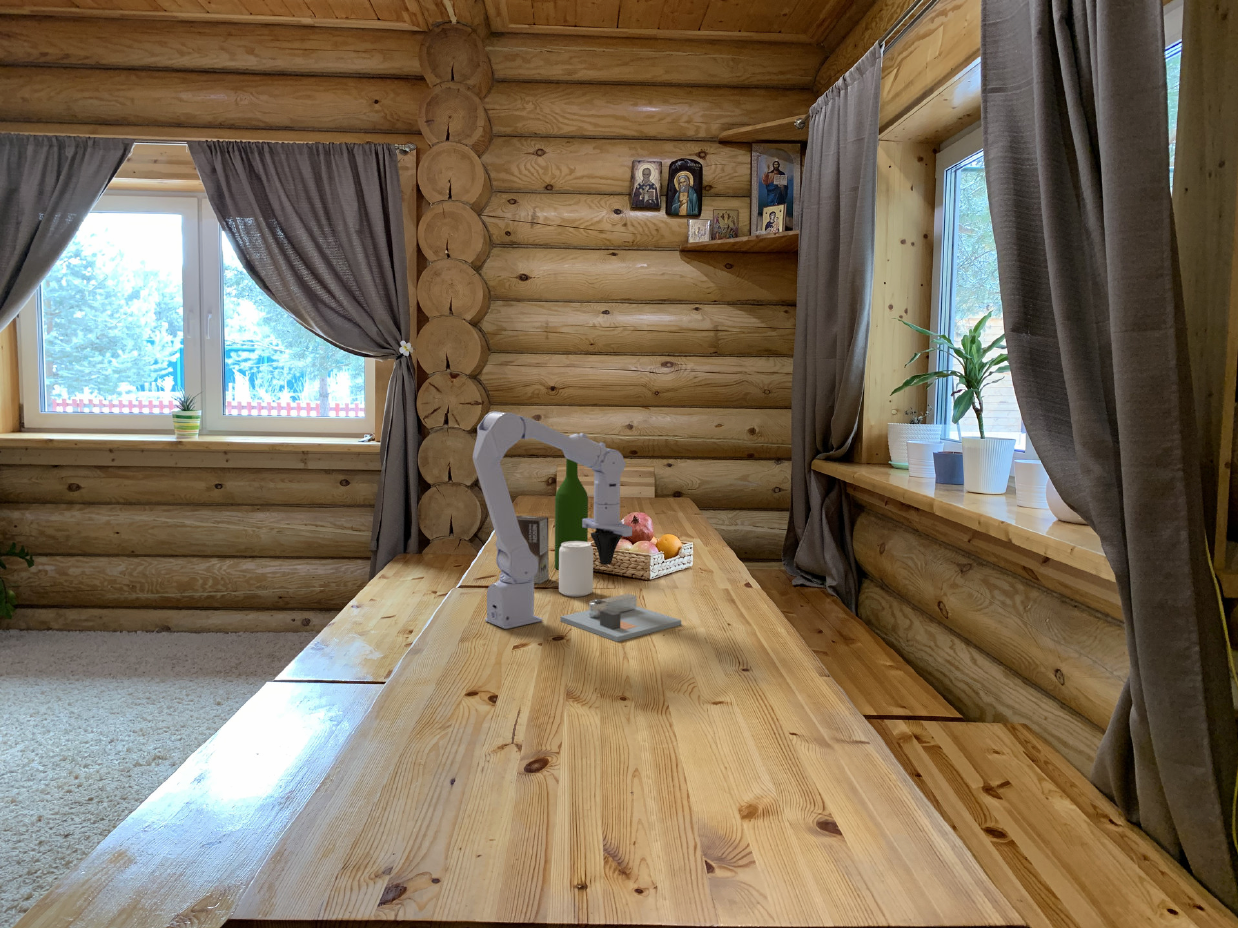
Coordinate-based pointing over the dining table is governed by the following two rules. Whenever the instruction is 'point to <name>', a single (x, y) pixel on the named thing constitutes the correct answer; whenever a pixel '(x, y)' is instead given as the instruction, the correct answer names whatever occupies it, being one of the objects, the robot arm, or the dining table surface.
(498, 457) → the robot arm
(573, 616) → the latch board
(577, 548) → the beverage can
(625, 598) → the latch bar
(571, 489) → the wine bottle
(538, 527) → the coffee box
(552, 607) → the dining table surface
